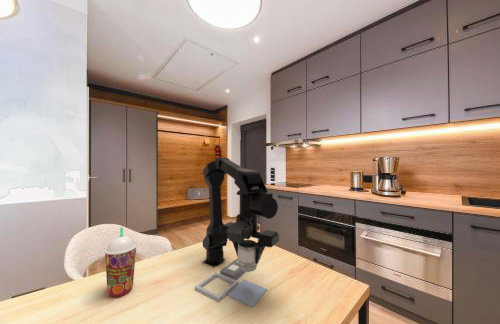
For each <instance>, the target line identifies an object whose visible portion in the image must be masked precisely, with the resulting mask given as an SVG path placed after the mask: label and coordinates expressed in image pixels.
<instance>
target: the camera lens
mask: <svg viewBox="0 0 500 324" xmlns="http://www.w3.org/2000/svg"><path fill="white" fill-rule="evenodd" d="M255 243H257V242H256V241H254V240H251V239H244V241H243V242H242V243H239V244H238V257H237V258H238V266H239V269H240V270H242V271H244V272H245V273H251V272H254V271H256V269H257V267H258V264H256V262H255V255H256V248H255V246H254V244H255Z"/></svg>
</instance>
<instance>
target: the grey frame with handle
mask: <svg viewBox="0 0 500 324" xmlns="http://www.w3.org/2000/svg"><path fill="white" fill-rule="evenodd" d="M245 273H246V272H244V271H242V270H240V269H239V266H238V257H237V258H235V260H232V262H230V263H229V264H228V265H225V267H222V269H221V270H220V272H214V273H213V274H211V275H210V276H208V277H207V278H205V279H204V280H202V281H201V282H199V283H198V284H197V285H195V286H194V291H196V292H198V293H200V294H202V295H204V296H205V297H208V298H210V299H212V300H214V301H216V302H217V303H219V302H221V300H223V299H224V298H225V297H226V296H228V294H229V293H230V292H231V291H232V290H233V289H234V288H235V287H236V286H237V285H239V280H238V279H239V278H240V277H242V276H243V275H244V274H245ZM216 278H217V279H220V280H222V281H224V282H227V283H230V285H228V287H227V288H225V289H224V290H223V291H221V292H220V293H219V294H216V293H214V292H212V291H210V290H208V289H206V288H204V287H205V286H206V285H208V284H209V283H210V282H212V281H213V280H215V279H216Z"/></svg>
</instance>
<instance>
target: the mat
mask: <svg viewBox="0 0 500 324" xmlns="http://www.w3.org/2000/svg"><path fill="white" fill-rule="evenodd" d="M267 291H268V288H267V287H263V286H261V285H258V284H255V283H253V282H250V281H248V280H245V279H243V280H241V282H240V283H238V285H237V286H236V287H235V288H234V289H233V290H231V291H230V292H229V293H228V294H227V297H229V298H232V299H233V300H236V301H238V302H240V303H242V304H244V305H246V306H249V307H251V308H254V307H255V305H256V304H257V303H258V302H259V301H260V299H261V298H262V297H263V296H264V295H265V293H266V292H267Z"/></svg>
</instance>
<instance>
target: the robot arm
mask: <svg viewBox="0 0 500 324" xmlns="http://www.w3.org/2000/svg"><path fill="white" fill-rule="evenodd" d="M202 174H203V177H204V182H205V184H207V186H208V193H209V194H208V197H209V198H208V200H209V201H208V202H209V221H210V222H209V224H208V226H207V228H206V232H205V233H206V234H205V237H204V238H203V240H202V248H204V249H205V251H206V259H205V260H203V263H205V264H207V265H209V266H211V267H217V266H219V265H220V264H222V263H223V262H225V261H226V258H224V247H226V246H227V244H228V241H229V242H232V245H233V247H234V250H235V254H236V256H237V258H238V244H239V243H242V242H243V241H244V240H250V238H254V239H257V242H256V243H255V244H254V246H255V248H256V255H255V262H256V264H257V265H258V264H259V262H260V260H261V257H262V256H263V252H264V250H265V249H266V248H272V247H274V246H275V245H277V243H279V242H280V235H279V233H278V231H275V230H269V229H266V230H264V231H263V232H261V231H259V230H260V225H258V220H259V219H258V218H259V217H263V218H265V219H269V220H270V219H272V218H274V217H275V216H276V215H277V213H278V208H279V205H278V202H277V200H276V199H275V198H274V197H273V195H274V194H273V192H272V193H271V192H269V191H268V189H267V186H266V185H265V182H264V180H263V177H262V176H261V173H260V172H259V171H257V170H255V169H249V168H243V166H241V165H239V164H238V163H236V162H234V161H232V160H230V158H228V157H216V158H214V160H213V161H211V162H209V163H208V164H206V166H205V167H204V168H203V169H202ZM225 175H228V176H229V177H231V178H232V179H233V180H234V182H233V183H234V185H235V186H236V187H237V188H238V189H239V190H238V191H237V192H236V195H237V196H239V213H238V214H236V220H235V222H234V221H233V222H232V221H229V222H226V223H224V222H223V209H222V208H223V207H222V205H223V204H222V190H221V189H222V185H223V183H224V181H225Z"/></svg>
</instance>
